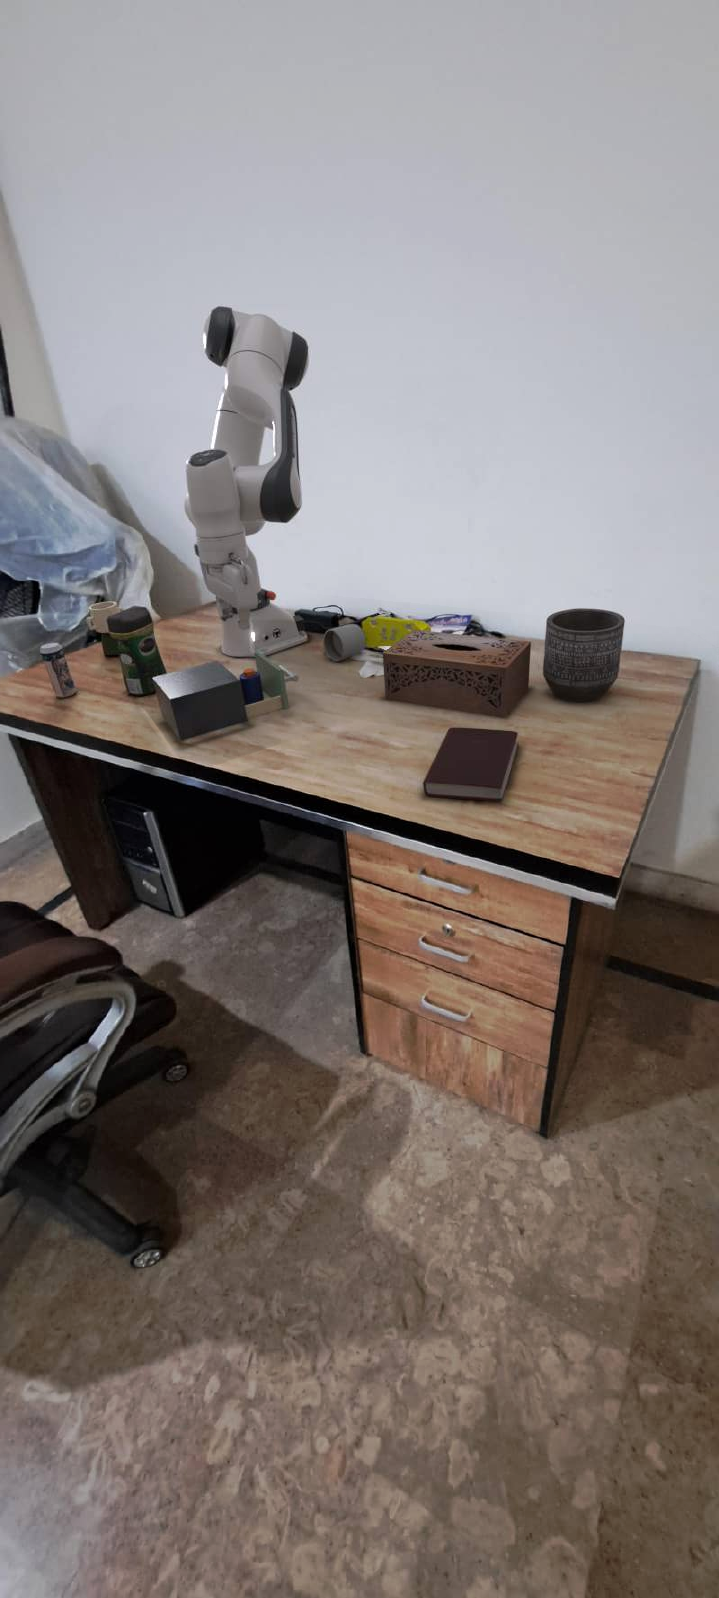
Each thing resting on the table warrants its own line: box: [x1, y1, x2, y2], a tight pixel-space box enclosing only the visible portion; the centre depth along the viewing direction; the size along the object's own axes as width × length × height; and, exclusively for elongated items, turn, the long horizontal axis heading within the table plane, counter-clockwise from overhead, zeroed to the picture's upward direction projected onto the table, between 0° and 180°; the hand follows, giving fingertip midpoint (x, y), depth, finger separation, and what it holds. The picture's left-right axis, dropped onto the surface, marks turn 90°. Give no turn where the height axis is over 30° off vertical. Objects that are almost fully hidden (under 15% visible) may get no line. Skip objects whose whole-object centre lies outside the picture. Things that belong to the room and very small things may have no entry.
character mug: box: [85, 601, 125, 656], centre depth 176 cm, size 11×7×13 cm, turn 141°
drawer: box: [245, 651, 300, 719], centre depth 139 cm, size 18×14×9 cm
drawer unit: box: [152, 660, 249, 742], centre depth 135 cm, size 14×14×10 cm
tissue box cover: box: [382, 630, 532, 718], centre depth 137 cm, size 26×14×10 cm, turn 60°
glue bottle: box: [238, 667, 264, 706], centre depth 139 cm, size 4×4×7 cm
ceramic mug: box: [322, 624, 366, 662], centre depth 162 cm, size 11×8×8 cm
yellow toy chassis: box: [361, 615, 432, 652], centre depth 162 cm, size 16×6×8 cm, turn 58°
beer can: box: [39, 641, 77, 698], centre depth 155 cm, size 5×5×12 cm
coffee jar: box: [107, 605, 168, 697], centre depth 152 cm, size 10×8×19 cm
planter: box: [542, 607, 626, 703], centre depth 131 cm, size 14×14×15 cm
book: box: [422, 726, 519, 802], centre depth 112 cm, size 12×19×3 cm, turn 161°
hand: (236, 623), depth 132 cm, fingers open, 8 cm apart
